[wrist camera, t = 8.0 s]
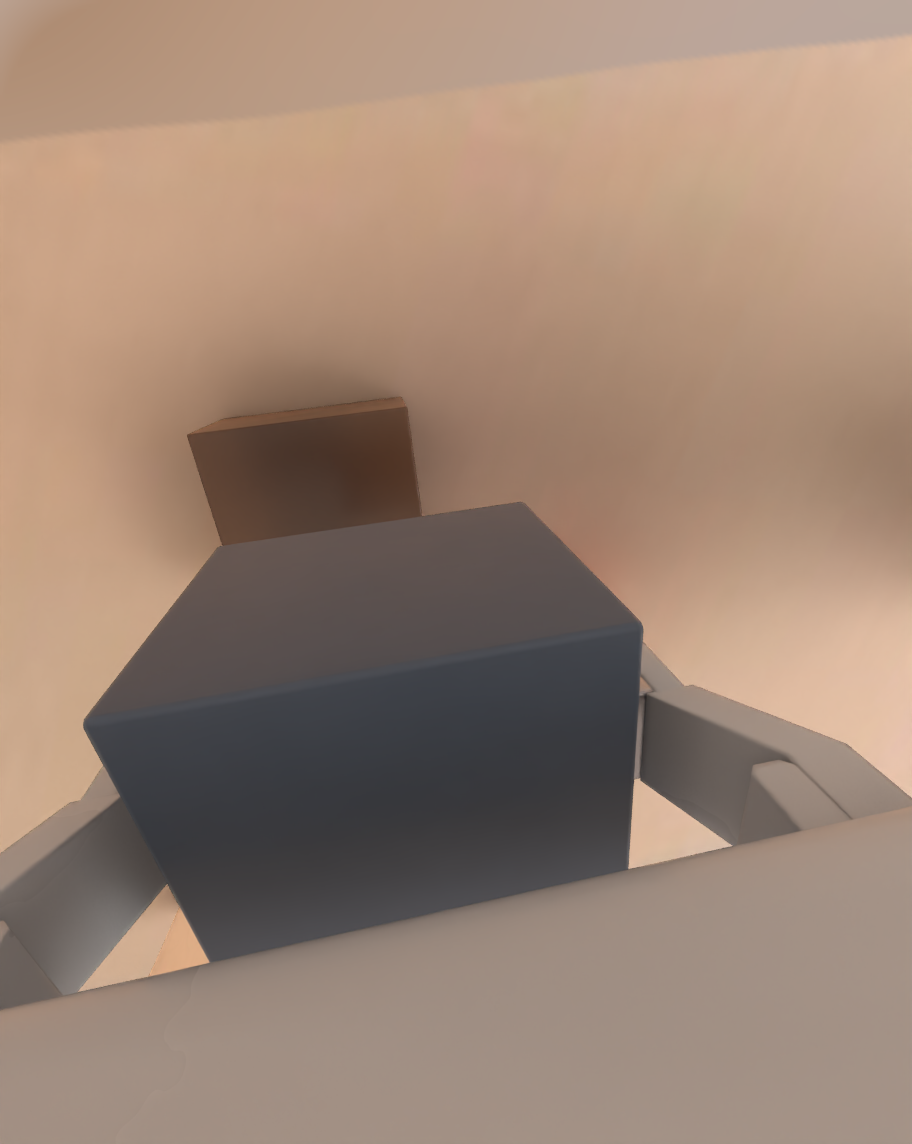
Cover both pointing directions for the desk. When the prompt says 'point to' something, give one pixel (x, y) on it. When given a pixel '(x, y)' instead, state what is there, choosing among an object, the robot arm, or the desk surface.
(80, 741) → the desk surface
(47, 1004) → the robot arm
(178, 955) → the milkshake
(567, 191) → the desk surface
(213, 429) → the walnut block
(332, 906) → the slate block
